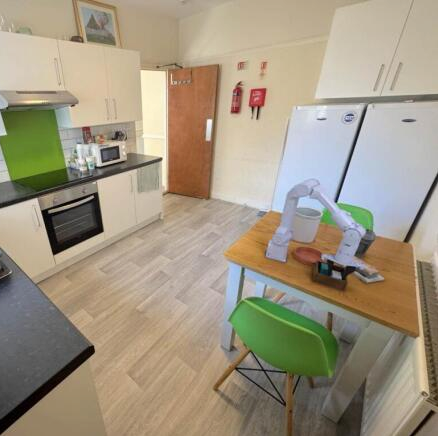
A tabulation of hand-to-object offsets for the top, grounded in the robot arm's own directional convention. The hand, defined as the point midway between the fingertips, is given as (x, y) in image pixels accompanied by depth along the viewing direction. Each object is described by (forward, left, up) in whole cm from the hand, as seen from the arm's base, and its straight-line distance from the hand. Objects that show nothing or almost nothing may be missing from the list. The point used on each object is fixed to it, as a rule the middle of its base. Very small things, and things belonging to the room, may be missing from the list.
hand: (335, 276), depth 107 cm
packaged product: (+10, +17, -5) cm, 20 cm away
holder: (-2, +2, -4) cm, 5 cm away
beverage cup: (+12, +32, -5) cm, 35 cm away
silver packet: (0, 0, -4) cm, 4 cm away
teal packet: (-4, +4, -4) cm, 7 cm away
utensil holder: (-15, +38, -5) cm, 41 cm away
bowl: (-10, +16, -4) cm, 19 cm away
